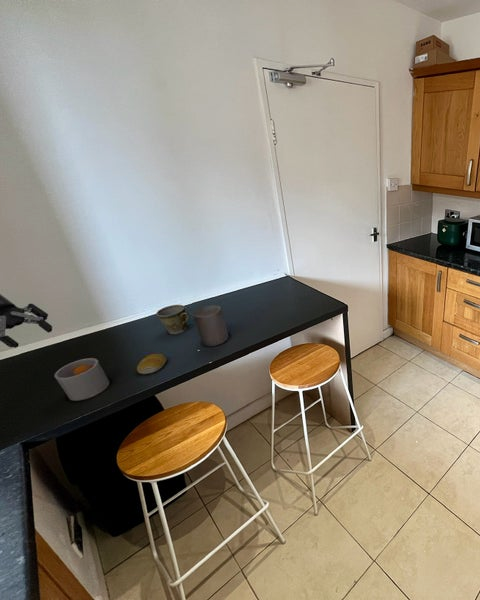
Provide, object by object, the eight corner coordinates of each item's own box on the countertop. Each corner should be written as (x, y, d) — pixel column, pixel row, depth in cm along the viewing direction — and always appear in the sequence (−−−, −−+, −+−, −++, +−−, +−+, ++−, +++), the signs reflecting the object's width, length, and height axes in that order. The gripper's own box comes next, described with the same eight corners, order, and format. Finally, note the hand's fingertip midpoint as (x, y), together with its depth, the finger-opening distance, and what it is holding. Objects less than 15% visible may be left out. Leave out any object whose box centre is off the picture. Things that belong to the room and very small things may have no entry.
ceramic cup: (158, 335, 133) (150, 315, 128) (176, 323, 141) (169, 303, 137) (186, 337, 131) (178, 317, 126) (203, 325, 140) (196, 305, 135)
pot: (85, 402, 99) (71, 381, 95) (60, 398, 101) (45, 376, 96) (117, 381, 108) (105, 360, 103) (93, 377, 109) (81, 356, 105)
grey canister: (197, 342, 128) (186, 310, 121) (220, 330, 136) (210, 300, 129) (211, 349, 124) (200, 316, 117) (234, 337, 131) (225, 305, 124)
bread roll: (170, 357, 119) (166, 348, 117) (161, 372, 112) (157, 363, 110) (144, 361, 117) (140, 352, 115) (134, 376, 110) (129, 367, 108)
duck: (89, 393, 102) (76, 373, 98) (76, 390, 103) (64, 370, 99) (106, 381, 107) (96, 361, 103) (95, 379, 108) (83, 359, 104)
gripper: (-49, 306, 87) (6, 345, 90) (16, 285, 99) (63, 320, 102) (-50, 320, 90) (3, 357, 93) (14, 298, 102) (58, 331, 105)
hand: (34, 338), depth 98 cm, fingers open, 8 cm apart
